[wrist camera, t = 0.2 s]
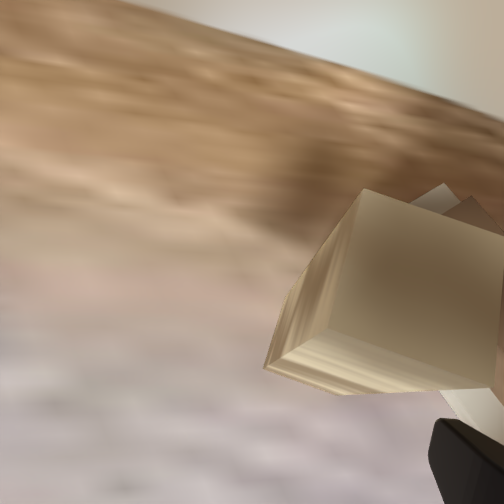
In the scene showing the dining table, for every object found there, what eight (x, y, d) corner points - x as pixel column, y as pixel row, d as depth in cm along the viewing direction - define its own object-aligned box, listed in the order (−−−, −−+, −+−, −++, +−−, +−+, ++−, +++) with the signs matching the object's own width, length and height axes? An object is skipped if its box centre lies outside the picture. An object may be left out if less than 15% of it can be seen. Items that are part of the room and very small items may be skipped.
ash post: (336, 395, 22) (493, 387, 10) (262, 368, 22) (327, 328, 10) (353, 322, 23) (506, 237, 11) (284, 297, 23) (363, 187, 11)
